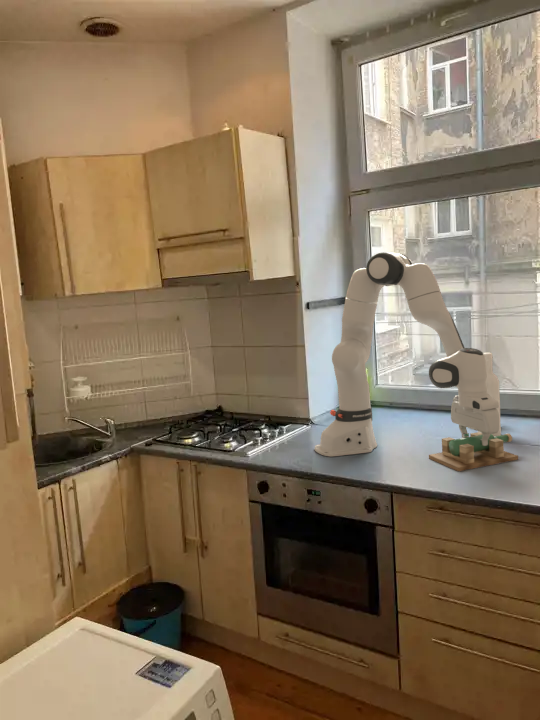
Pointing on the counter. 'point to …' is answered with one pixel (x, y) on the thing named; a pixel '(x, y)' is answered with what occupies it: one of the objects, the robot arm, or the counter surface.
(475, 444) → the bottle
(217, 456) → the counter surface
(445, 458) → the bottle rest
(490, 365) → the bottle
